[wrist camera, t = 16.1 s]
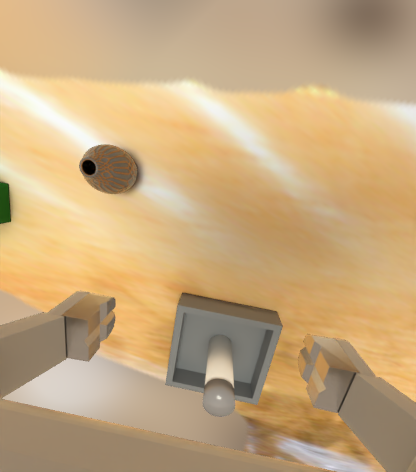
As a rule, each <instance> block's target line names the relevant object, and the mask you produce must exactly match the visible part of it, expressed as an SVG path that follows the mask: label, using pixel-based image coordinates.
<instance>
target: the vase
mask: <svg viewBox="0 0 416 472" xmlns="http://www.w3.org/2000/svg"><path fill="white" fill-rule="evenodd" d="M79 167H80V171H81V172H82V174H83V176H84V178H85V179H86V181H87V182H88V183H89V184H90V185H91V186H92V187H93V188H95V189H97V190H99V191H101V192H104V193H108V194H118V193H122V192H125V191H127V190H128V189H130V188H131V187H132V186H133V185H134V183H135V181H136V178H137V168H136V164H135V162H134V160H133V159H132V157H131V156H130V155H129V154H128V153H127V152H126V151H124V150H122V149H121V148H118V147H116V146H113V145H98V146H94V147H92V148H90V149H89V150H88V151H87V152H86V153H85V154H84V156H83V158H82V160H81V161H80V165H79Z"/></svg>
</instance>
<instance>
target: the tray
mask: <svg viewBox="0 0 416 472" xmlns="http://www.w3.org/2000/svg"><path fill="white" fill-rule="evenodd" d="M282 327H283V326H282V323H281V321H280V319H279V316H278V314H277V312H276V311H271V310H266V309H261V308H256V307H251V306H246V305H241V304H236V303H231V302H226V301H221V300H216V299H211V298H206V297H201V296H196V295H191V294H187V293H182V295H181V298H180V301H179V303H178V307H177V313H176V320H175V326H174V333H173V339H172V345H171V352H170V358H169V365H168V371H167V378H166V384H165V385H168V386H173V387H178V388H182V389H187V390H192V391H196V392H201V393H204V387H205V378H206V368H207V358H208V347H209V341H210V339H211V338H212V337H214V336H216V335H224V336H226V337H228V338H229V339H230V340H231V342H232V356H233V378H234V392H235V400H238V401H242V402H247V403H251V404H256V405H257V404H258V401H259V398H260V395H261V392H262V389H263V385H264V382H265V379H266V376H267V373H268V370H269V367H270V364H271V361H272V358H273V355H274V352H275V348H276V345H277V342H278V339H279V336H280V333H281V330H282Z"/></svg>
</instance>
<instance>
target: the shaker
mask: <svg viewBox="0 0 416 472" xmlns="http://www.w3.org/2000/svg"><path fill="white" fill-rule="evenodd" d="M203 407H204V409H205V410H206V411H207V412H208V413H209V414H211V415H213V416H219V417H222V416H227V415H229V414H231V413H232V412H233V411H234V409H235V392H234V378H233V356H232V342H231V340H230V339H229V338H228V337H226V336H224V335H216V336H214V337H212V338H211V339H210V341H209V347H208V358H207V368H206V378H205V387H204V395H203Z"/></svg>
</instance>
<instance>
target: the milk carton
mask: <svg viewBox="0 0 416 472" xmlns="http://www.w3.org/2000/svg"><path fill="white" fill-rule="evenodd" d="M6 222H11V219H10V203H9V187H8V184H6V183H1V182H0V224H1V223H6Z"/></svg>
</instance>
